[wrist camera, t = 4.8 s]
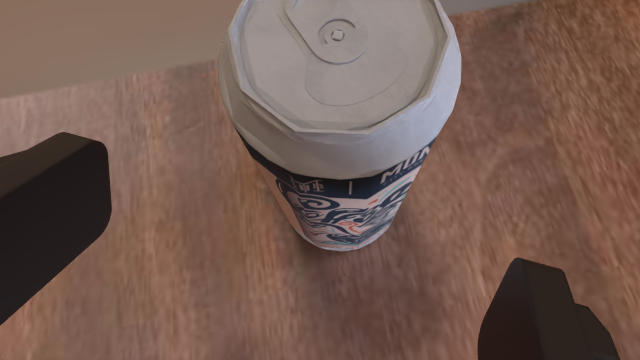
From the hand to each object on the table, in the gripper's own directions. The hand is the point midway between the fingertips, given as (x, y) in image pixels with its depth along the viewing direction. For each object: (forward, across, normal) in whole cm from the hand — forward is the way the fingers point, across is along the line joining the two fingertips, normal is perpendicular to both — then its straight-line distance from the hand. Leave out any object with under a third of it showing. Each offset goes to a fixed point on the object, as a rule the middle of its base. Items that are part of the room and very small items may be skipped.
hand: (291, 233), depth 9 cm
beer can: (+10, 0, +5) cm, 11 cm away
